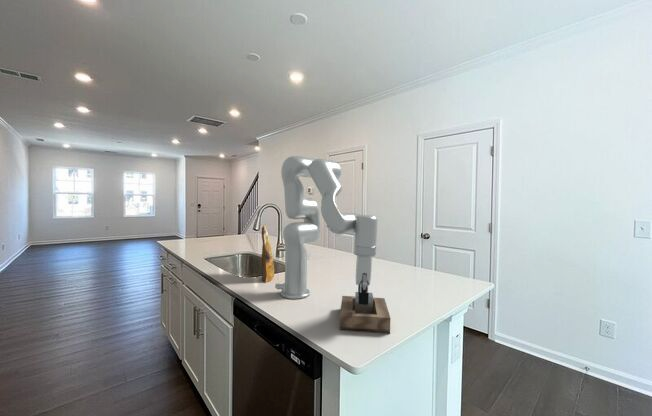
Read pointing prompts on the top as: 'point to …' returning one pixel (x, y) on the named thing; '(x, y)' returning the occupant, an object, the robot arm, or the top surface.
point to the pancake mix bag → (266, 257)
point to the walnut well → (364, 317)
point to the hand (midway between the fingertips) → (362, 298)
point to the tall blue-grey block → (364, 308)
